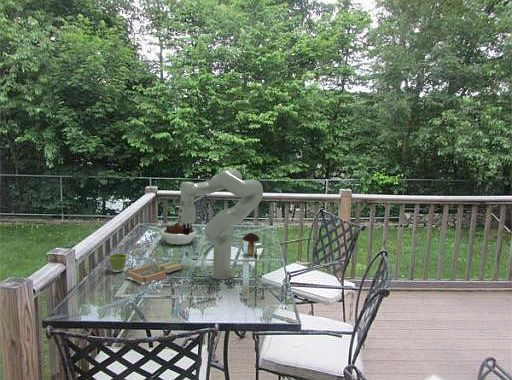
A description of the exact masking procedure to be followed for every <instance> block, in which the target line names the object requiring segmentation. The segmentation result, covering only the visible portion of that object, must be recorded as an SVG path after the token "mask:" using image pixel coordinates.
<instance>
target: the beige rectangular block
mask: <svg viewBox="0 0 512 380" xmlns="http://www.w3.org/2000/svg"><path fill="white" fill-rule="evenodd" d="M157 267H158V268H157V269H158V270H159V272H160V271H166V274H167V275H171V274H170V273H172V272H174V271H175V272H176V271H177V272H180V271H181V269H182V267H184V266H183V264H182V263H178V262H175V261H168V262H166V263H162V264H159V265H158V266H157Z"/></svg>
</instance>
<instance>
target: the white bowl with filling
mask: <svg viewBox="0 0 512 380" xmlns="http://www.w3.org/2000/svg"><path fill="white" fill-rule="evenodd" d="M183 232H184V228H183V227H182V226H180V225H179V221H178V222H176V223H174V224H173V225H166V227H163V228H161V229H160V232H159V233H160V234H161V237H163V238H164V241H165V242H166V243H167V244H169V243H170V245H174V244H176V245H175V246H180V245H181V244H182V245H187V244H189V243H191V242H192V240H193V238H194V237H195V236H196V234H197V232H198V231H197V229H196V228H195V227H193V225H191V227H190V230H189V235H184V234H183Z"/></svg>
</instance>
